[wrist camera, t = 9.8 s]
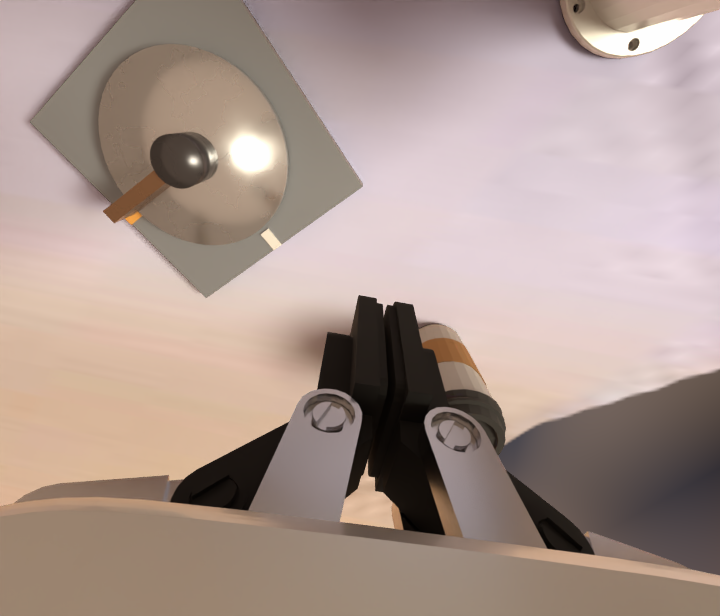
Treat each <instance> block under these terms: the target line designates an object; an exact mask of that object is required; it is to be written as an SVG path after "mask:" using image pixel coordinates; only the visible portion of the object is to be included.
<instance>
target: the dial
mask: <svg viewBox="0 0 720 616" xmlns="http://www.w3.org/2000/svg"><path fill="white" fill-rule="evenodd" d="M98 124H99V137H100V143H101V148H102V152H103V155H104V158H105V161H106V164H107V166H108V169H109V171H110V173H111V175H112V177H113V179H114V181H115V183H116V184H117V186H118V188H119V189H120V190H121V192H122V193H123V196H121V197H120V198H119V199H118V200H116V201H115V202H114V203H113V204H111V205H110V206H109V207H108V208H107V209H105V210H104V211H103V212H104V213H105V214H106V215H107V216H108V217H109V218H110V219H111V220H112V221H113V222H114V223H116V222H118V221H120V220H123V219H125V218H127V217H129V216H132V215H134V214H135V213H137V212H139V213H140V214H141V215H142V216H143V217H144V218H146V219H147V220H148V221H149V222H151V223H152V224H153V225H155V226H156V227H158V228H159V229H161V230H162V231H164V232H166V233H168V234H170V235H172V236H174V237H177V238H179V239H182V240H184V241H188V242H191V243H196V244H202V245H226V244H231V243H235V242H238V241H241V240H243V239H246V238H248V237H249V236H251V235H253V234H255V233H256V232H257V231H258V230H260V229H261V228H262V227H263V226H264V225H265V224H266V223H267V222H268V221H269V220H270V219H271V218H272V217H273V215H274V214H275V212H276V211H277V209H278V208H279V206H280V204H281V202H282V200H283V197H284V194H285V191H286V189H287V183H288V178H289V151H288V146H287V140H286V137H285V134H284V130H283V127H282V125H281V122H280V120H279V118H278V115H277V113H276V111H275V110H274V108H273V106H272V104H271V103H270V101H269V100H268V98H267V97H266V95H265V94H264V93H263V91H262V90H261V89H260V88H259V87H258V85H257V84H256V83H255V82H254V81H253V80H252V79H251V78H250V77H249V76H248V75H247V74H245V73H244V72H243V71H242V70H241V69H239V68H238V67H237V66H235V65H234V64H232V63H231V62H229V61H228V60H226V59H224V58H222V57H220V56H218V55H216V54H213V53H211V52H208V51H205V50H202V49H199V48H196V47H192V46H187V45H182V44H164V45H156V46H152V47H149V48H146V49H143V50H141V51H139V52H137V53H135V54H133V55H131V56H130V57H129V58H127V59H126V60H125V61H124V62H122V63H121V64H120V65H119V67H118V68H117V69H116V70H115V71H114V72H113V74H112V76H111V77H110V79H109V81H108V82H107V84H106V87H105V89H104V92H103V94H102V98H101V103H100V107H99V118H98Z"/></svg>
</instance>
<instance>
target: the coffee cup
mask: <svg viewBox="0 0 720 616" xmlns="http://www.w3.org/2000/svg"><path fill="white" fill-rule="evenodd" d="M419 333H420V338H421V342H422V346H423V348H427V349H432V350H434V353H435V356H436V359H437V363H438V367H439V370H440V374H441V378H442V381H443V385H444V389H445V392H446V396H447V400H448V403H449V407H450V408H455V409H458V410H460V411H463V412H465V413H466V414H468V415H470V416H471V417H473V418H474V419H475V420H476V421H477V422H478V423H479V424H480V425H481V426H482V428H483V429H484V431H485V432H486V434H487V436H488V438H489V440H490V442H491V444H492V445H493V447H494V449H495V451H496V453H497V455H499V454H500V452H501V451H502V449H503V447H504V443H505V430H506V426H505V422H504V418H503V416H502V411H501V408H500V407H499V405H498V404H497V402H496V401H495V400H493V398H492V396H491V394H490V393H489V391H488V389H487V387H486V383H485V382H484V380H483V378H482V376H481V374H480V373H479V371H478V369H477V367H476V365H475V363H474V362H473V360H472V358H471V356H470V354H469V353H468V351H467V349H466V347H465V346H464V345H463V343H462V341H461V339H460V338H459V336H458V334H457V333H456V332H455V331H454V330H453V329H451V328H449V327H447V326H444V325H439V324H431V325H427V326H424V327H422V328H420V329H419Z"/></svg>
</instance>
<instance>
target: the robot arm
mask: <svg viewBox="0 0 720 616" xmlns="http://www.w3.org/2000/svg"><path fill="white" fill-rule="evenodd" d="M560 6H561V9H562V13H563V17H564V20H565V22H566V24H567V26H568V28H569V30H570V32H571V34H572V35H573V37H574V38H575V39H576V40H577V41H578V42H579V43H580V45H581V46H583V47H584V48H586V49H587V50H589V51H590V52H592V53H594V54H597V55H600V56H603V57H606V58H619V59H621V58H627V57H634V56H638V55H642V54H646V53H650V52H652V51H654V50H657V49H659V48H661V47H663V46H665V45H667V44H669V43H670V42H672V41H673V40H675V39H676V38H678V37H679V36H681V35H682V34H684V33H685V32H686V31H687V30H688V29H689V28H691V27H692V26H693V25H694V24H695V23H696V22H697V21H699V19H700V18H701V17H702V16H703V15H704V14H706V13H710V12H713V11H717V10H720V0H560ZM573 6H576V11H575V12H574V11H573ZM628 44H629V48H628ZM367 460H368V475H369V476H370V477H375V491H379V492H384V493H385V494H386V496H387V497H388V498H389V499H390V500H391V501H392V502H393V504H392V518H393V523H394V528H395V529H391V528H383V527H375V526H367V525H359V524H351V523H343V522H340V517H341V513H342V508H343V504H344V499H345V498H346V497H348V496H349V495H350V494H351V493H353V492H354V491H355V490H356V489H358V485H359V482H360V478H361V475H363V474H364V470H365V467H366V464H367ZM0 616H720V576H718V575H714V574H709V573H704V572H699V571H694V570H691V569H689V568H686V567H685V566H683V565H680V564H679V563H676V562H673V561H671V560H668V559H665V558H662V557H659V556H657V555H654V554H651V553H648V552H645V551H643V550H640V549H637V548H634V547H631V546H629V545H626V544H622V543H620V542H617V541H614V540H612V539H609V538H606V537H603V536H600V535H597V534H595V533H592V532H589V531H587V532H586V534H585V535H583V534H582V533H581V531H580V530H579V529H578V528H577V527H576V526H575V525H574V524H573V523H572V522H571V521H569V520H568V519H567V518H566V517H565V516H563V515H562V514H561V513H560V512H558V511H557V510H556V509H555V508H553V507H552V506H551V505H550V504H548V503H547V502H546V501H544V500H543V499H542V498H541V497H539V496H538V495H537V494H536V493H534V492H533V491H532V490H531V489H529V488H528V487H527V486H525V485H524V484H523V483H522V482H520V481H519V480H518V479H517V478H515V477H514V476H513V475H512V474H510V473H509V472H508V471H507V470H505V468H504V466H503V465H502V462H501V461H500V459H499V457H498V455H497V453H496V451H495V449H494V447H493V445H492V444H491V442H490V440H489V438H488V436H487V434H486V432H485V431H484V429H483V428H482V426H481V425H480V424H479V423H478V422H477V421H476V420H475V419H474V418H473V417H471V416H470V415H468V414H466V413H465V412H463V411H460V410H458V409H455V408H450V407H449V403H448V400H447V396H446V392H445V389H444V385H443V381H442V378H441V374H440V370H439V367H438V363H437V359H436V356H435V353H434V350H432V349H427V348H423V346H422V342H421V338H420V333H419V329H418V324H417V320H416V316H415V311H414V307H413V305H411V304H406V303H400V302H394V304H393V306H391V305H387V307H386V310H385V314H384V316H383V304H379V303H377V299H376V298H371V297H366V296H360V295H359V296H358V300H357V305H356V310H355V315H354V320H353V324H352V329H351V334H350V336H349V335H343V334H337V333H331V332H328V333H327V339H326V344H325V350H324V355H323V361H322V366H321V372H320V377H319V382H318V388H317V390H314V391H311V392H309V393H307V394H306V395H305V396H303V397H302V398H301V400H300V401H299V402H298V404H297V406H296V408H295V411H294V413H293V415H292V417H291V419H290V421H289V422H288V423H286V424H284V425H282V426H280V427H278V428H276V429H274V430H272V431H270V432H268V433H267V434H265V435H263V436H261V437H259V438H257V439H255V440H253V441H251V442H249V443H247V444H245V445H243V446H242V447H240V448H238V449H236V450H234V451H232V452H230V453H228V454H226V455H224V456H222V457H220V458H218V459H217V460H215V461H213V462H211V463H209V464H207V465H205V466H203V467H201V468H199V469H197V470H196V471H194V472H193V473H191V474H190V475H188V476H187V477H186V478H185V479H184V480H172V481H169V475H165V476H152V477H138V478H125V479H112V480H99V481H86V482H73V483H60V484H55V485H50V486H45V487H42V488H39V489H37V490H35V491H33V492H31V493H29V494H26V495H24V496H23V497H22V498H20V499H19V500H18V501H16V502H15V503H13V504H9V505H4V506H0Z"/></svg>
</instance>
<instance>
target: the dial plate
mask: <svg viewBox="0 0 720 616" xmlns="http://www.w3.org/2000/svg"><path fill="white" fill-rule="evenodd" d="M164 44H182V45H187V46H192V47H196V48H199V49H202V50H205V51H208V52H211V53H213V54H216V55H218V56H220V57H222V58H224V59H226V60H228V61H229V62H231V63H232V64H234V65H235V66H237V67H238V68H239V69H241V70H242V71H243V72H244V73H245V74H247V75H248V76H249V77H250V78H251V79H252V80H253V81H254V82H255V83H256V84H257V85H258V87H259V88H260V89H261V90H262V91H263V93H264V94H265V95H266V97H267V98H268V100H269V101H270V103H271V104H272V106H273V108H274V110H275V111H276V113H277V115H278V118H279V120H280V122H281V125H282V127H283V130H284V134H285V137H286V140H287V146H288V151H289V178H288V183H287V189H286V191H285V194H284V197H283V200H282V202H281V204H280V206H279V208H278V209H277V211H276V212H275V214H274V215H273V217H272V218H271V219H270V220H269V221H268V222H267V223H266V224H265V225H264V226H263V227H262V228H261V229H260V230H258V231H257V232H256V233H255V234H253V235H251V236H249V237H248V238H246V239H243V240H241V241H238V242H235V243H231V244H226V245H202V244H196V243H191V242H188V241H184V240H182V239H179V238H177V237H174V236H172V235H170V234H168V233H166V232H164V231H162V230H161V229H159V228H158V227H156V226H155V225H153V224H152V223H151V222H149V221H148V220H147V219H146V218H144V217H143V216H142V215H141V214H140V213H139V212H137V213H135V214H134V215H132V216H129V217H127V218H125V219H126V220H127V221H128V222H129V223H130V224H131V225H133V226H134V227H135V228H136V229H137V230H138V231H139V232H140V233H141V234H142V235H143V236H144V237H145V238H146V239H147V240H148V241H150V242H151V243H152V244H153V245H154V246H155V247H156V248H157V249H158V250H159V251H160V252H161V253H162V254H163V255H164V256H165V257H166V258H167V259H168V260H169V261H170V262H171V263H172V264H173V265H174V266H175V267H176V268H177V269H178V270H179V271H180V272H181V273H182V274H183V275H184V276H185V277H186V278H187V279H188V280H189V281H190V282H191V283H192V284H193V285H194V286H195V287H196V288H197V289H198V290H199V291H200V292H201V293H202V294H203V295H204V296H205V297H206V298H207V297H208V296H210V295H211V294H213V293H214V292H215V291H217V290H218V289H220V288H221V287H222V286H224V285H225V284H227V283H228V282H230V281H231V280H232V279H234V278H235V277H237V276H238V275H239V274H241V273H242V272H244V271H245V270H246V269H248V268H249V267H251V266H252V265H253V264H255V263H256V262H258V261H259V260H260V259H262V258H263V257H265V256H266V255H267V254H269V253H270V252H272V251H273V250H275V249H276V248H278V247H279V246H280V245H282V244H283V243H284V242H286V241H287V240H288V239H290V238H291V237H293V236H294V235H295V234H297V233H298V232H300V231H301V230H302V229H304V228H305V227H307V226H308V225H309V224H311V223H312V222H314V221H315V220H316V219H318V218H319V217H321V216H322V215H323V214H325V213H326V212H328V211H329V210H330V209H332V208H333V207H335V206H336V205H337V204H339V203H340V202H342V201H343V200H345V199H346V198H347V197H349V196H350V195H352V194H353V193H354V192H356V191H357V190H359V189H360V188H361V187H363V183H362V182H361V180H360V179H359V177H358V176H357V174H356V173H355V171H354V170H353V168H352V167H351V165H350V164H349V162H348V161H347V159H346V157H345V156H344V154H343V153H342V151H341V150H340V148H339V147H338V145H337V144H336V142H335V141H334V139H333V138H332V136H331V135H330V133H329V132H328V130H327V129H326V127H325V125H324V124H323V122H322V121H321V119H320V118H319V116H318V115H317V113H316V112H315V110H314V109H313V107H312V106H311V104H310V103H309V101H308V100H307V98H306V96H305V95H304V93H303V92H302V90H301V89H300V87H299V86H298V84H297V83H296V81H295V80H294V78H293V77H292V75H291V74H290V72H289V71H288V69H287V68H286V66H285V64H284V63H283V61H282V60H281V58H280V57H279V55H278V54H277V52H276V51H275V49H274V48H273V46H272V45H271V43H270V42H269V40H268V39H267V37H266V35H265V34H264V32H263V31H262V29H261V28H260V26H259V25H258V23H257V22H256V20H255V19H254V17H253V16H252V14H251V13H250V11H249V10H248V8H247V7H246V5H245V3H244V2H243V0H136V1H135V2H134V3H133V4H132V5H131V6H130V8H129V9H128V10H127V11H126V12H125V13H124V14H123V16H122V17H121V18H120V19H119V20H118V21H117V22H116V24H115V25H114V26H113V27H112V28H111V29H110V31H109V32H108V33H107V34H106V35H105V36H104V37H103V39H102V40H101V41H100V42H99V43H98V44H97V45H96V47H95V48H94V49H93V50H92V51H91V52H90V54H89V55H88V56H87V57H86V58H85V59H84V60H83V62H82V63H81V64H80V65H79V66H78V67H77V68H76V70H75V71H74V72H73V73H72V74H71V75H70V77H69V78H68V79H67V80H66V81H65V82H64V83H63V85H62V86H61V87H60V88H59V89H58V90H57V91H56V93H55V94H54V95H53V96H52V97H51V98H50V100H49V101H48V102H47V103H46V104H45V105H44V106H43V108H42V109H41V110H40V111H39V112H38V113H37V114H36V116H35V117H34V118H33V119H32V120H31V121H30V123H31V124H32V125H33V126H34V127H35V128H36V129H37V130H38V131H39V132H40V133H41V134H42V135H43V136H44V137H45V138H46V139H47V140H48V141H49V142H50V143H51V144H52V145H53V146H54V147H55V148H56V149H57V150H58V151H59V152H60V153H61V154H62V155H63V156H64V157H65V158H66V159H67V160H68V161H69V162H70V163H71V164H72V165H73V166H74V167H75V168H76V169H77V170H78V171H79V172H80V173H81V174H82V175H83V176H84V177H85V178H86V179H87V180H88V181H89V182H90V183H91V184H92V185H93V186H94V187H95V188H96V189H97V190H98V191H99V192H100V193H101V194H102V195H103V196H104V197H105V198H106V199H107V200H108V201H109V202H110V203H111V204H113V203H114V202H115V201H116V200H118V199H119V198H120V197H121V196H123V193H122V192H121V190H120V189H119V188H118V186H117V184H116V183H115V181H114V179H113V177H112V175H111V173H110V171H109V169H108V166H107V164H106V161H105V158H104V155H103V152H102V148H101V143H100V137H99V124H98V118H99V107H100V103H101V98H102V94H103V92H104V89H105V87H106V84H107V82H108V81H109V79H110V77H111V76H112V74H113V72H114V71H115V70H116V69H117V68H118V67H119V65H120V64H121V63H122V62H124V61H125V60H126V59H127V58H129V57H130V56H131V55H133V54H135V53H137V52H139V51H141V50H143V49H146V48H149V47H152V46H156V45H164Z"/></svg>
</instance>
